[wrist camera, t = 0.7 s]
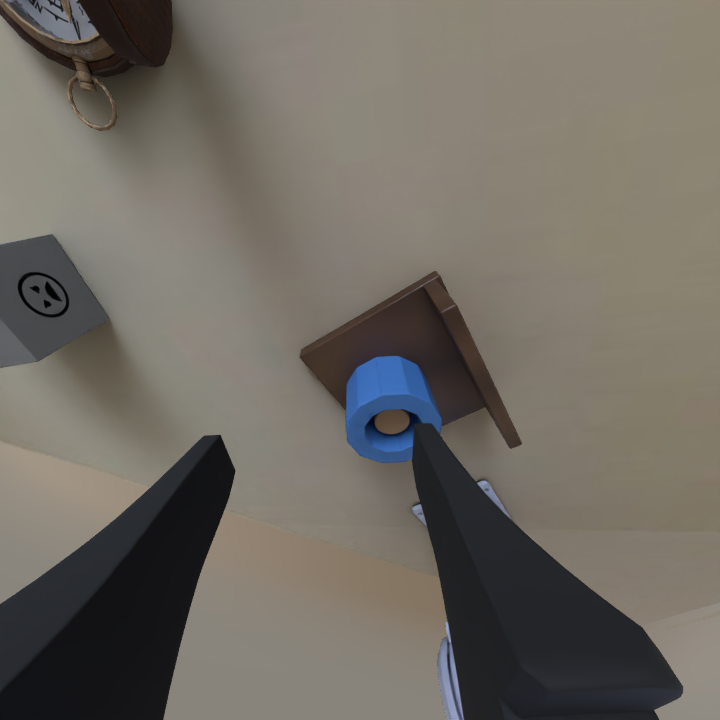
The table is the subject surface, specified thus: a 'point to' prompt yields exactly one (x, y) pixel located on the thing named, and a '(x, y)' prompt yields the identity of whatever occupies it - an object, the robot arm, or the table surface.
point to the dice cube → (41, 301)
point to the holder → (414, 355)
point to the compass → (94, 37)
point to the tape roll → (387, 407)
